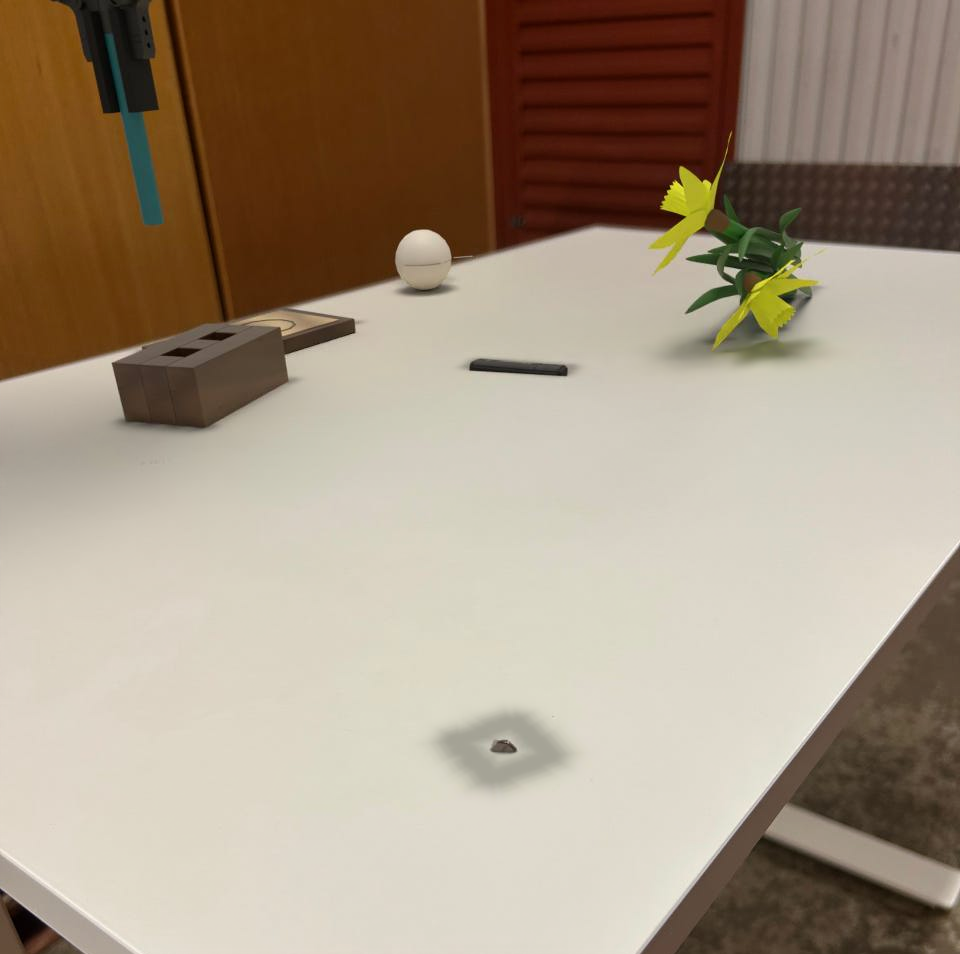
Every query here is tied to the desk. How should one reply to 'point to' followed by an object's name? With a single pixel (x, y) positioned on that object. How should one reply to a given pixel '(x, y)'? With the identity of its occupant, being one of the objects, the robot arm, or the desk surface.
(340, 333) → the picture frame
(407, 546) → the desk surface
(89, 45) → the robot arm
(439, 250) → the seamed sphere
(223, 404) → the pen block
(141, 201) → the pen
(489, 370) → the usb stick
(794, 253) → the daffodil flowers
